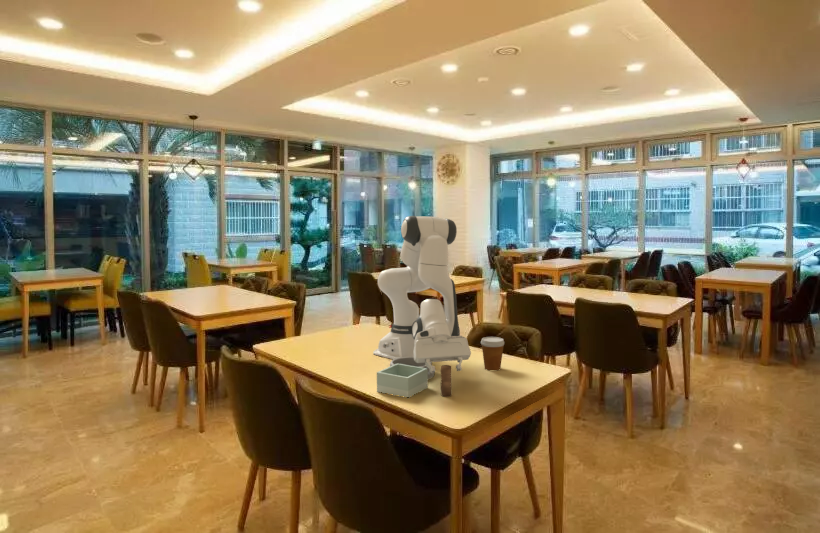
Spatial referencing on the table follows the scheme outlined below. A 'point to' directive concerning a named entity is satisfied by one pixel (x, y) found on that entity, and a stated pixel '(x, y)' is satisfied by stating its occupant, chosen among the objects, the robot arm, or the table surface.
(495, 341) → the disposable coffee cup
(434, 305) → the robot arm
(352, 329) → the table surface
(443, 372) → the peg
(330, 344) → the table surface
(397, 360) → the dog bowl
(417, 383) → the socket box
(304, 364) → the table surface
